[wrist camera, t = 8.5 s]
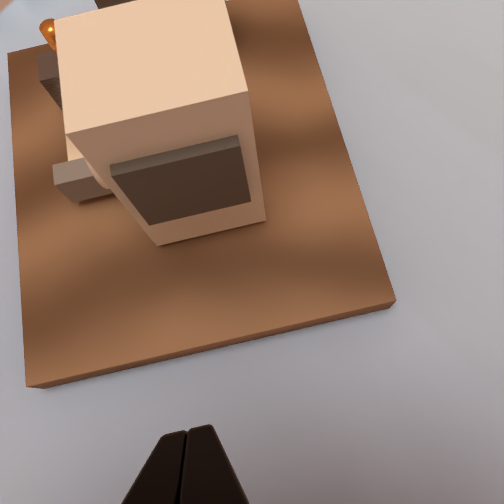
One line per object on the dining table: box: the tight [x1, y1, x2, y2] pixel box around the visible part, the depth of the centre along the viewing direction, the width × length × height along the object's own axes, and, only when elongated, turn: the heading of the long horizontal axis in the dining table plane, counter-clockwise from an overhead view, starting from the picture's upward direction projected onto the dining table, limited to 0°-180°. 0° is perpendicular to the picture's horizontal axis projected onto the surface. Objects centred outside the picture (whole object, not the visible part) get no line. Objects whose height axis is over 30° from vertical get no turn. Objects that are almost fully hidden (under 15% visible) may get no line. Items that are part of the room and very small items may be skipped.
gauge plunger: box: [52, 0, 266, 246], centre depth 17 cm, size 4×8×9 cm, turn 102°
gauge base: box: [7, 0, 396, 389], centre depth 21 cm, size 18×16×8 cm
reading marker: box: [37, 19, 63, 111], centre depth 22 cm, size 2×3×4 cm, turn 102°
